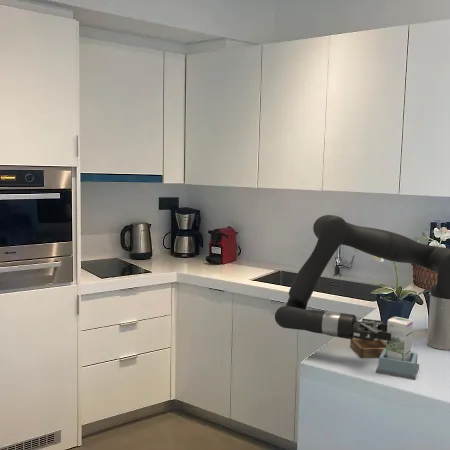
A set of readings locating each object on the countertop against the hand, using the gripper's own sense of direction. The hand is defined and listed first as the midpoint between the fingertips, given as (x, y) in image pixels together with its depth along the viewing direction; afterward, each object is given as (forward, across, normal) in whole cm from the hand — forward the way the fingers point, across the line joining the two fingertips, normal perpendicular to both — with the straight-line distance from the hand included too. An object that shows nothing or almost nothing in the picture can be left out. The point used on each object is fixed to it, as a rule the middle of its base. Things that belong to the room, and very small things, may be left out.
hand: (393, 333), depth 164 cm
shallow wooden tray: (-8, +12, +11) cm, 18 cm away
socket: (+2, 0, +11) cm, 11 cm away
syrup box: (+2, 0, +10) cm, 10 cm away
